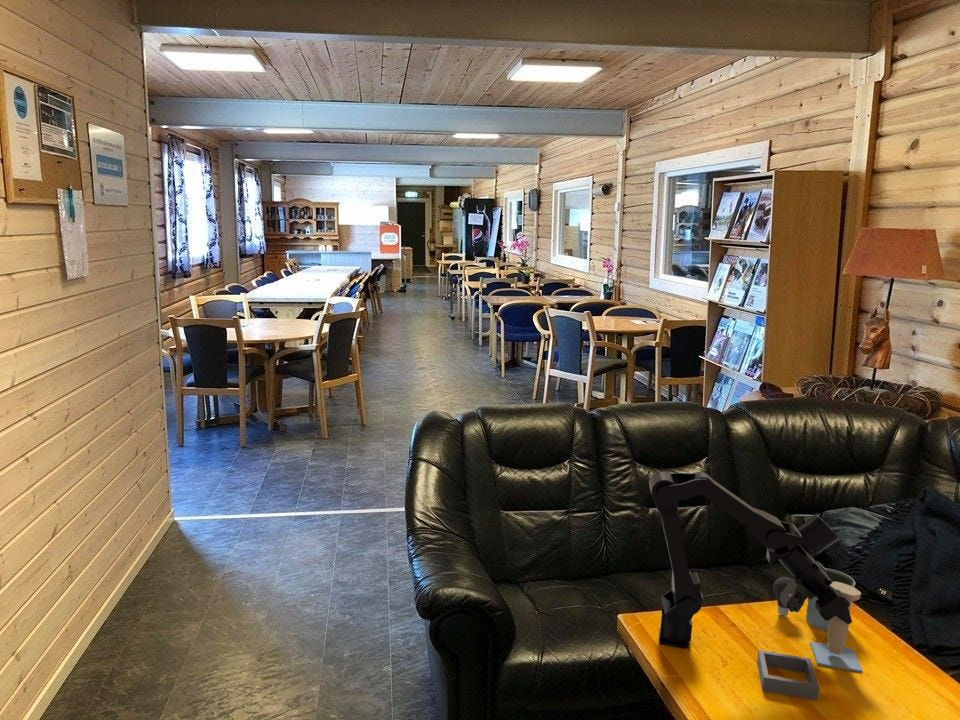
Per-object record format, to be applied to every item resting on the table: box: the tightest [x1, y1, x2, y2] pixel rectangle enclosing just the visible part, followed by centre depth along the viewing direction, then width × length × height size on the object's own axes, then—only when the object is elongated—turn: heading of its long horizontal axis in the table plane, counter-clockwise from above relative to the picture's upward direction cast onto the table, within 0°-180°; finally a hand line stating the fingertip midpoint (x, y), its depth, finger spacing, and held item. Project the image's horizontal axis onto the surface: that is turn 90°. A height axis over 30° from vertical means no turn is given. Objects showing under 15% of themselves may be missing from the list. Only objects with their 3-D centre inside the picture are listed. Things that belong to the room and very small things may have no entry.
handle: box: [826, 582, 862, 655], centre depth 160 cm, size 5×6×15 cm
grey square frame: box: [756, 649, 820, 701], centre depth 152 cm, size 10×10×3 cm
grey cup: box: [805, 567, 856, 632], centre depth 176 cm, size 10×10×12 cm
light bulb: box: [772, 576, 793, 618], centre depth 178 cm, size 6×6×10 cm
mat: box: [809, 641, 864, 674], centre depth 162 cm, size 9×9×1 cm
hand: (846, 617), depth 160 cm, fingers closed on handle, 4 cm apart
